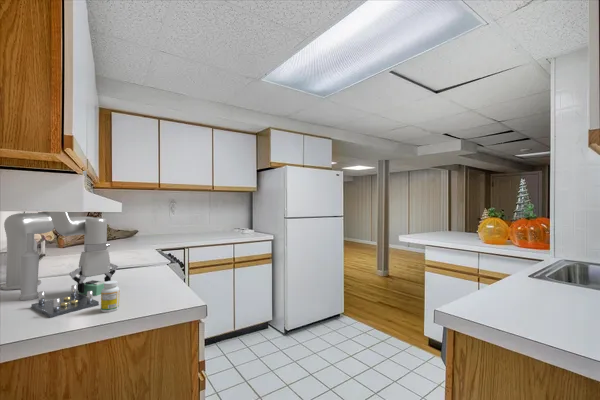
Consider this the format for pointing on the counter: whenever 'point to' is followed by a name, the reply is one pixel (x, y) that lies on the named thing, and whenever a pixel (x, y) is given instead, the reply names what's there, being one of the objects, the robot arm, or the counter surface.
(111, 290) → the supplement bottle
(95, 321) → the counter surface
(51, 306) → the chassis
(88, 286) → the green rectangular module
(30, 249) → the bottle
